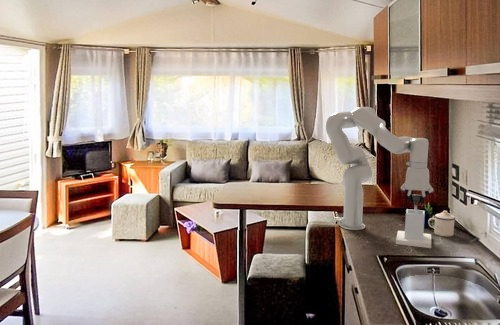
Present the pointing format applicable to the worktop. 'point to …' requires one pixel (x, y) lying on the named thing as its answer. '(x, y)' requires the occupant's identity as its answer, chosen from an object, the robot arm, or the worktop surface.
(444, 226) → the teacup with lid
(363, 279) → the worktop surface
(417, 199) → the plunger
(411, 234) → the stand
